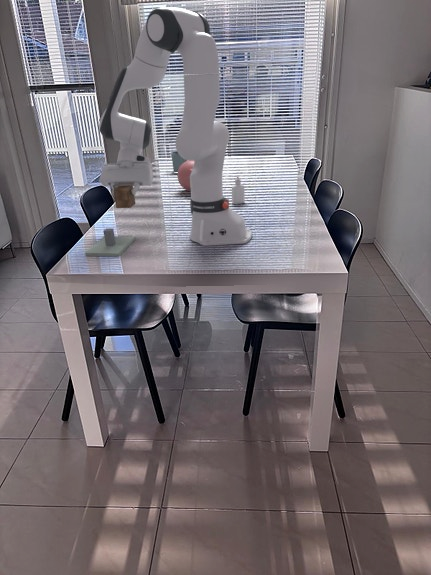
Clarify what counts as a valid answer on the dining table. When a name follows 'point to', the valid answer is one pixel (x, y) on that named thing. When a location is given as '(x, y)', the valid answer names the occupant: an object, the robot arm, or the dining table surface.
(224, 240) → the robot arm
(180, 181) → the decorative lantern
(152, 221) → the dining table surface
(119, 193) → the walnut cap
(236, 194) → the eye dropper bottle
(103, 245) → the post board
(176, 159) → the drinking glass
